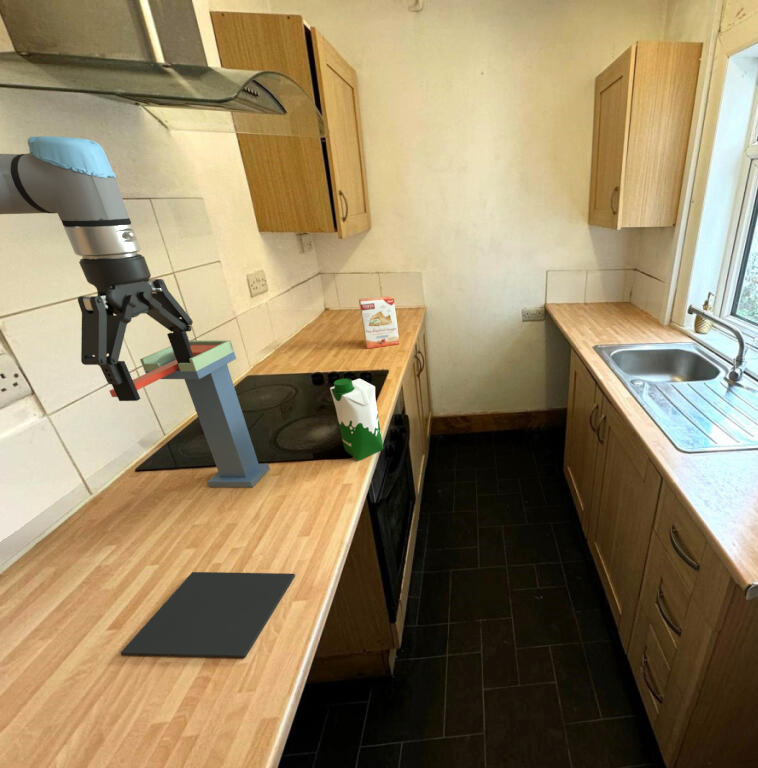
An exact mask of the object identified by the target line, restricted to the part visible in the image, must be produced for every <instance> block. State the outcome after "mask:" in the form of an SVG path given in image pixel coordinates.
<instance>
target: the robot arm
mask: <svg viewBox="0 0 758 768" xmlns="http://www.w3.org/2000/svg"><path fill="white" fill-rule="evenodd" d="M26 142H27V146H28V148H29V150H28V152H29V153H19V154H18V153H0V215H24V214H25V215H27V214H31V215H32V214H57V216H58V218H59V220H60V221H61V224H62V226H63V228H64V231H65V234H66V236H67V238H68V240H69V242H70V245H71V248H72V250H73V252H74V254H75V255H77V256H78V257H82V258H81V259H79V261H78V263H79V265H80V268H81V271H82V272H83V275H84V277H85V279H86V282H87V283H88V284H89V285H92V286H93V287H94V288H95V289H96V292H97V293H96V294H97V295H95V296H94V295H92V296H91V295H90V296H89V295H82V296H78V297H77V303H78V306H79V308H80V312H81V339H80V340H81V341H80V342H81V343H80V344H81V346H80V347H81V348H80V349H81V351H80V353H81V354H80V361H81V363H82V365H84V366H98V367H99V368H100V369H101V372H102V374H103V376H104V379H105V381H106V382H107V384H109V385H111V387H112V389H114V390H115V393H116V395H117V397H116V398H117V399H118V401H119V402H138V401H139V400H141V397H140V393H139V391H138V390H137V389H136V387H135V385H134V382H133V378H132V375H131V373H130V371H129V367H128V366H127V363H126V362H125V360H119V359H120V355H121V351H122V346H123V343H124V339H125V334H126V330H127V325H128V324H129V323H131V322H132V319H134V318H137V317H138V316H140V315H141V314H142V315H143V314H144V315H147V316H149V317H150V318H151V319H153V320H154V321H156V322H157V323H159V324H160V325H161V326H163V327H164V328H166V329H167V330H169V331H170V332H168V333H167V338H168V341H169V344H170V346H172V349H173V351H174V354H175V357H176V359H177V362H178V364H179V363H190V360H189V359H190V358H192V357H194V356H193V354H192V351H191V348H190V347H191V346H190V342H189V341H190V339H189V336H188V334H187V333H188V332H191V331H192V325H193V323H194V322H193V320H192V318H191V317H190V316H189V314H188V313H187V312H186V311H185V309H184V308H183V307H182V306H181V305H180V303H179V302H178V301H177V300H176V298H175V297H174V296H173V295H172V293H171V292H170V291H169V289H168V287H167V285H166V282H165V280H164V279H162V278H151V277H152V275H151V272H150V269H149V266H148V263H147V260H146V258H145V256H143V254H139V252H140V251H141V250H142V248H141V245H140V243H139V240H138V237H137V235H136V232H135V229H134V227H133V224H132V221H131V218H130V217H129V214H128V210H127V208H126V205H125V202H124V198H123V196H122V192H121V191H120V188H119V185H118V182H117V174H116V173H115V172H114V170H113V168H112V166H111V164H110V161H109V158H108V157H107V154H106V152H105V150H104V148H103V147H102V145H101V144H100V143H98V142H96V141H94V140H91V139H87V138H81V137H71V136H70V137H69V136H52V135H40V136H38V135H37V136H36V135H33V136H30V137H28V139H27V141H26Z"/></svg>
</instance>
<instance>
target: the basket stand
mask: <svg viewBox="0 0 758 768" xmlns="http://www.w3.org/2000/svg"><path fill="white" fill-rule="evenodd" d="M189 342H190V345H217V346H215V347H213V348H211V349H209V350H207V351H205V352H203V353H201V354H199V355H197V356H195V357H192V358H190V359H189V360H190V363H179V364H178V366H179V370H177V371H175V372H173V373H171V374H169V375H167V376H165V377H163V378H161V379H160V380H184V382H185V385H186V388H187V391H188V393H189V396H190V399H191V401H192V405H193V407H194V410H195V412H196V415H197V418H198V420H199V423H200V426H201V429H202V431H203V435H204V437H205V439H206V442H207V445H208V447H209V450H210V452H211V455H212V458H213V462H214V464H215V467H216V469H217V472H216V473H215V474H214V475H213V476H212V477H210V479H209V480H207V484H208V487H209V488H240V489H241V488H245V489H247V488H249V489H250V488H251V489H252V488H254V487H255V486H256V485H257V484H258V483H259V482H260V480H261V479H263V477H264V476H265V475H266V474H267V473H268V472H269V471H270V470H271V467H270V464H269V463H259V461H258V457H257V454H256V451H255V448H254V444H253V442H252V438H251V435H250V432H249V429H248V426H247V423H246V420H245V416H244V413H243V410H242V407H241V404H240V401H239V397H238V394H237V391H236V389H235V385H234V381H233V379H232V375H231V372H230V369H229V367H228V364H229V363H232V362H233V361H235V360H237V356H236V353H235V350H234V347H233V343H232V340H230V339H229V340H226V339H225V340H217V339H216V340H189ZM173 352H174V351H173V349H172V346H171V345H170V346H168V347H166V348H162V349H161V350H159V351H156V352H153V353H151V354H149V355H146V356H144V357H141V358H140V359H139V361H140V363H141V365H142V368H143V371H144V374H146V373H149V372H151V371H153V370H155V369H157V368H159V367H162V366H164V365H166V364H168V363H170V362H172V361H175V360H176V358H175V356H174V353H173Z"/></svg>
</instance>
